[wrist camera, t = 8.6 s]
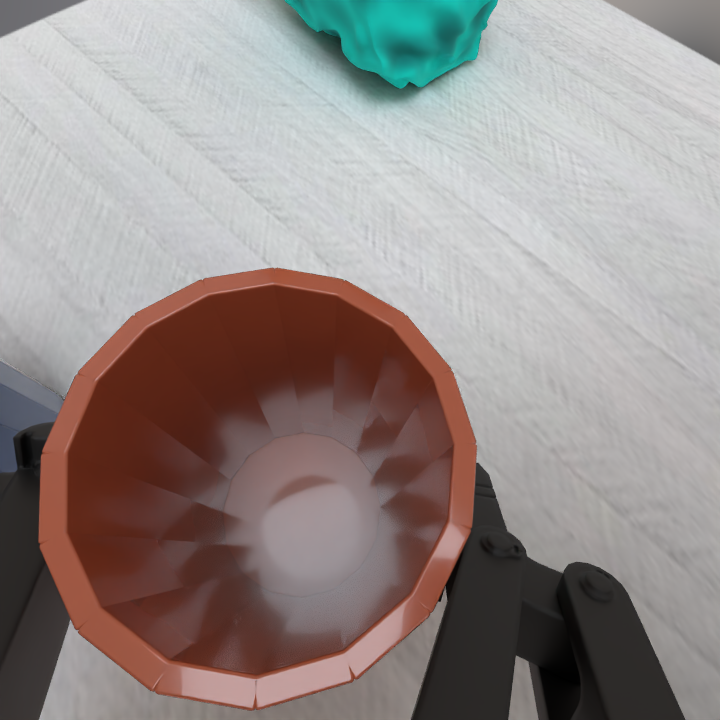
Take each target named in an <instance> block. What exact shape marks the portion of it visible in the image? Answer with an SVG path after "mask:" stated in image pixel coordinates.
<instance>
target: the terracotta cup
mask: <svg viewBox="0 0 720 720" xmlns="http://www.w3.org/2000/svg"><path fill="white" fill-rule="evenodd" d="M42 453H43V454H42V455H41V467H40V501H39V535H38V542H39V544H40V545H39V548H40V550H41V552H42V554H43V557H44V559H45V561H46V564H47V566H48V568H49V570H50V573H51V575H52V577H53V580H54V582H55V584H56V586H57V589H58V591H59V593H60V596H61V598H62V600H63V602H64V605H65V607H66V609H67V612H68V614H69V616H70V618H71V621H72V623H73V625H74V628H75V629H76V630H78V633H79V634H80V635H81V636H82V637H83V638H85V639H86V640H87V641H88V642H90V643H91V644H92V645H93V646H95V647H96V648H97V649H98V650H100V651H101V652H102V653H104V654H105V655H106V656H107V657H109V658H110V659H111V660H112V661H114V662H115V663H116V664H117V665H119V666H120V667H121V668H122V669H124V670H125V671H126V672H127V673H129V674H130V675H131V676H132V677H134V678H135V679H136V680H137V681H139V682H140V683H141V684H143V685H144V686H145V687H146V688H148V689H149V690H150V691H152V692H154V691H155V693H157V694H159V695H164V696H170V697H176V698H181V699H187V700H193V701H198V702H204V703H209V704H215V705H221V706H226V707H232V708H238V709H243V710H249V711H253V710H255V709H256V710H262V709H266V708H269V707H272V706H276V705H279V704H282V703H285V702H289V701H292V700H295V699H299V698H302V697H305V696H309V695H312V694H315V693H319V692H322V691H325V690H329V689H332V688H335V687H339V686H342V685H345V684H349V683H352V682H353V681H354V679H355V680H356V679H359V678H360V677H361V676H362V675H363V674H364V673H366V672H367V671H368V670H369V669H370V668H371V667H372V666H374V665H375V664H376V663H377V662H378V661H379V660H380V659H382V658H383V657H384V656H385V655H386V654H387V653H388V652H389V651H391V650H392V649H393V648H394V647H395V646H396V645H397V644H399V643H400V642H401V641H402V640H403V639H404V638H405V637H407V636H408V635H409V634H410V633H411V632H412V631H413V630H414V629H416V628H417V627H418V626H419V625H420V624H421V623H422V622H424V621H425V620H426V619H427V618H428V617H429V615H430V613H432V612H433V610H434V608H435V606H436V604H437V602H438V600H439V598H440V596H441V594H442V591H443V589H444V587H445V585H446V583H447V581H448V579H449V577H450V575H451V573H452V571H453V568H454V566H455V564H456V562H457V560H458V558H459V556H460V554H461V552H462V550H463V548H464V546H465V543H466V541H467V539H468V537H469V535H470V533H471V528H472V524H473V507H474V490H475V473H476V456H477V445H476V439H475V436H474V433H473V430H472V427H471V424H470V421H469V418H468V415H467V412H466V409H465V406H464V403H463V400H462V397H461V394H460V391H459V388H458V385H457V382H456V379H455V376H454V373H453V372H452V371H451V368H450V367H449V365H448V364H447V363H446V362H445V361H444V359H443V358H442V357H441V356H440V355H439V353H438V352H437V351H436V350H435V349H434V347H433V346H432V345H431V344H430V343H429V341H428V340H427V339H426V338H425V337H424V335H423V334H422V333H421V332H420V331H419V329H418V328H417V327H416V326H415V325H414V323H413V322H412V321H411V320H410V319H409V317H408V316H406V315H405V314H404V313H403V312H401V311H399V310H397V309H396V308H394V307H392V306H390V305H389V304H387V303H385V302H383V301H382V300H380V299H378V298H376V297H374V296H373V295H371V294H369V293H367V292H366V291H364V290H362V289H360V288H359V287H357V286H355V285H353V284H352V283H350V282H348V281H346V280H345V281H344V280H343V279H339V278H333V277H327V276H322V275H316V274H310V273H304V272H299V271H293V270H287V269H281V268H275V269H274V268H267V269H261V270H254V271H248V272H242V273H235V274H229V275H223V276H216V277H210V278H204V279H203V280H199V281H197V282H195V283H193V284H191V285H189V286H187V287H185V288H183V289H181V290H179V291H177V292H175V293H173V294H172V295H170V296H168V297H166V298H164V299H162V300H160V301H158V302H156V303H154V304H152V305H150V306H148V307H146V308H144V309H142V310H141V311H139V312H137V313H135V316H134V315H133V316H131V317H130V318H129V319H128V320H127V321H126V322H125V323H124V325H123V326H122V327H121V328H120V329H119V330H118V331H117V332H116V333H115V334H114V335H113V336H112V337H111V338H110V339H109V340H108V341H107V342H106V343H105V344H104V345H103V346H102V347H101V348H100V349H99V350H98V352H97V353H96V354H95V355H94V356H93V357H92V358H91V359H90V360H89V361H88V362H87V363H86V364H85V365H84V366H83V367H82V368H81V369H80V370H79V371H78V375H76V376H75V378H74V380H73V382H72V384H71V387H70V389H69V391H68V393H67V396H66V398H65V400H64V402H63V405H62V407H61V409H60V411H59V414H58V416H57V418H56V420H55V423H54V425H53V427H52V429H51V432H50V434H49V436H48V438H47V441H46V443H45V445H44V447H43V450H42Z"/></svg>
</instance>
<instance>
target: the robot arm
mask: <svg viewBox="0 0 720 720" xmlns="http://www.w3.org/2000/svg"><path fill="white" fill-rule="evenodd" d="M54 423H55V422H47V423H41V424H37V425H33V426H30V427H28V428H26V429H24V430H22V431H20V432H19V433H17V434H16V435H15V436H14V437H13V442H14V449H15V456H16V463H17V470H16V472H5V473H0V720H39V717H40V714H41V711H42V708H43V705H44V702H45V698H46V695H47V692H48V689H49V686H50V683H51V679H52V676H53V673H54V670H55V667H56V664H57V660H58V657H59V654H60V651H61V648H62V645H63V641H64V638H65V635H66V632H67V629H68V626H69V622H70V619H71V618H70V616H69V614H68V612H67V609H66V607H65V605H64V602H63V600H62V598H61V596H60V593H59V591H58V589H57V586H56V584H55V582H54V580H53V577H52V575H51V573H50V570H49V568H48V566H47V564H46V561H45V559H44V557H43V554H42V552H41V550H40V548H39V545H40V544H39V542H38V535H39V501H40V467H41V455H42V454H43V453H42V450H43V447H44V445H45V443H46V441H47V438H48V436H49V434H50V432H51V429H52V427H53V425H54ZM492 487H493V486H492V483H491V480H490V477H489V474H488V473H487V472H486V471H485V470H484V469H483V468H482V466H481V465H480V464H479V463H476V473H475V490H474V507H473V524H472V528H471V533H470V535H469V537H468V539H467V541H466V543H465V546H464V548H463V550H462V552H461V554H460V556H459V558H458V560H457V562H456V564H455V566H454V568H453V571H452V573H451V575H450V577H449V579H448V581H447V583H446V585H445V586H446V593H447V604H446V608H445V611H444V614H443V617H442V620H441V623H440V626H439V629H438V632H437V636H436V640H435V643H434V646H433V649H432V652H431V656H430V659H429V662H428V665H427V669H426V672H425V675H424V678H423V681H422V685H421V688H420V691H419V694H418V698H417V701H416V704H415V707H414V711H413V714H412V717H411V720H508V717H509V708H510V700H511V691H512V683H513V674H514V666H515V657H516V655H517V656H519V657H521V658H523V659H525V660H527V661H528V662H529V667H530V673H531V679H532V684H533V690H534V696H535V701H536V707H537V713H538V718H539V720H685V718H684V716H683V713H682V711H681V709H680V707H679V705H678V702H677V700H676V698H675V696H674V694H673V691H672V689H671V687H670V685H669V683H668V680H667V678H666V676H665V674H664V672H663V669H662V667H661V665H660V663H659V661H658V658H657V656H656V654H655V652H654V650H653V647H652V645H651V643H650V641H649V639H648V636H647V634H646V632H645V630H644V628H643V625H642V623H641V621H640V619H639V617H638V614H637V612H636V610H635V608H634V606H633V603H632V601H631V599H630V597H629V595H628V593H627V592H626V590H625V589H624V587H623V586H622V584H621V583H620V582H618V581H617V580H616V579H615V578H614V577H613V576H612V575H611V574H609V573H607V572H606V571H604V570H603V569H601V568H599V567H596V566H594V565H591V564H589V563H582V562H575V563H571V564H568V566H567V567H566V569H565V570H564V572H563V573H560V572H558V571H556V570H553V569H551V568H548V567H546V566H544V565H541V564H539V563H537V562H535V561H533V560H531V559H530V558H528V557H527V555H526V550H525V548H524V547H523V545H522V543H521V542H520V541H519V540H518V539H517V538H516V537H515V536H513V535H512V534H511V533H509V532H507V529H506V526H505V523H504V520H503V517H502V514H501V510H500V507H499V504H498V501H497V499H496V495H495V492H494V489H492ZM444 588H445V587H444ZM443 592H444V589H443V591H442V594H441V596H440V598H439V600H438V602H440V601H441V598H442V595H443Z"/></svg>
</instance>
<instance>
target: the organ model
mask: <svg viewBox="0 0 720 720" xmlns="http://www.w3.org/2000/svg"><path fill="white" fill-rule="evenodd" d="M284 1H285V2H286V3H287V4H289V5H290V6H291V7H292V8H294V9H295V10H296V11H297V12H298V14H299V15H300V16H301V17H302V19H303V20H304V21H305V22H306V24H307V25H308V26H310V27H311V28H312V29H313V30H315V31H316V32H320V31H324V32H325V33H327V34H329V35H332V36H336V37H340V38H341V45H342V51H343V53H344V55H345V56H346V57H347V59H348V60H349V61H350V62H351V63H352V64H354V65H355V66H356V67H358V68H360V69H363V70H367V71H371V72H375V73H377V74H379V75H380V76H381V77H382V78H384V79H385V80H387V81H388V82H390V83H391V84H392V85H394V86H395V87H397V88H404V87H405V86H406V85H407V84H408V83H409V82H411V83H413V84H415V85H416V86H417V87H424V86H425V85H427V84H428V83H429V82H430V81H431V80H433V79H435V78H436V77H438V76H440V75H442V74H444V73H445V72H447V71H449V70H451V69H453V68H455V67H457V66H458V65H460V64H461V63H463V62H464V61H468V60H475V59H476V57H477V55H478V49H479V43H480V39H481V33H482V31H483V30H484V29H485V28H486V27H487V21H488V18H489V16H490V14H491V13H492V11H493V10H494V8H495V7H496V5H497V2H498V0H284Z"/></svg>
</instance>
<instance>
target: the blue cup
mask: <svg viewBox="0 0 720 720" xmlns="http://www.w3.org/2000/svg"><path fill="white" fill-rule="evenodd" d="M63 402H64V400H63V399H62V398H61V397H60V396H59V395H58V394H56V393H55V392H54V391H52V390H51V389H49V388H47V387H46V386H44V385H43V384H41V383H40V382H38V381H37V380H36V379H34V378H32V377H31V376H29V375H27V374H26V373H24V372H22V371H21V370H19V369H17V368H16V367H14V366H12V365H10V364H9V363H7V362H5V361H4V360H2V359H0V473H5V472H16V470H17V463H16V456H15V449H14V442H13V437H14V436H15V435H16V434H17V433H19V432H20V431H22V430H24V429H26V428H28V427H30V426H33V425H37V424H41V423H47V422H55V420H56V418H57V416H58V414H59V411H60V409H61V407H62V405H63Z"/></svg>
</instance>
